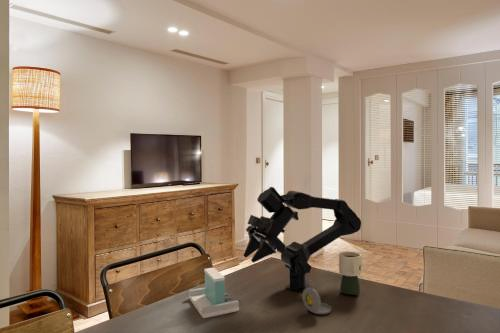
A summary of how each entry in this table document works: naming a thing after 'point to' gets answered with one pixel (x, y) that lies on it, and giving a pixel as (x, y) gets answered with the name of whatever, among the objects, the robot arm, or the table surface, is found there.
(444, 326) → the table surface
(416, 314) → the table surface
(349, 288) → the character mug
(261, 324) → the table surface
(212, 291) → the teal and cream panel
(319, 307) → the pocket watch
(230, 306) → the white slotted tray
